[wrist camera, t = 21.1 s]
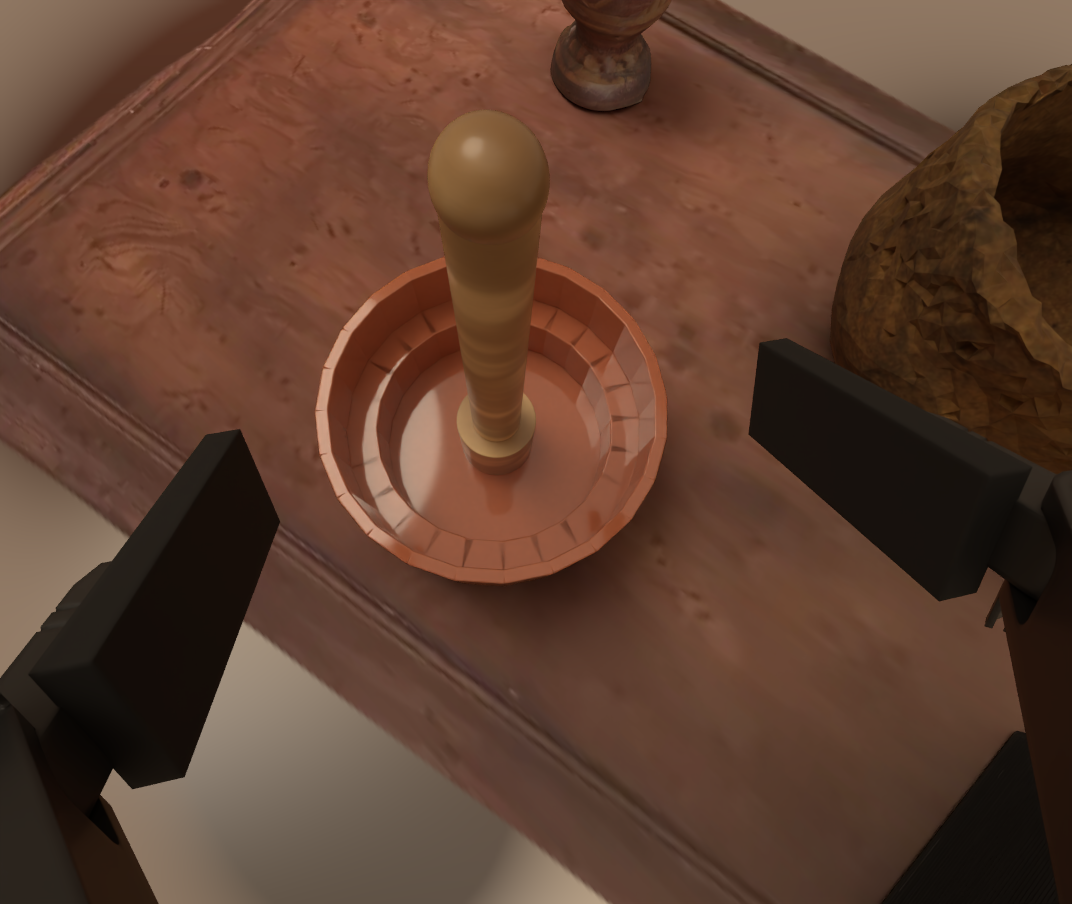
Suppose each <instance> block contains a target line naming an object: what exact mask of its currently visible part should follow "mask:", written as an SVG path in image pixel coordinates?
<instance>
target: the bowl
mask: <svg viewBox="0 0 1072 904" xmlns="http://www.w3.org/2000/svg"><path fill="white" fill-rule="evenodd" d="M830 343H831V348H832V353H833V357H834V361H835V364H837V365H839V366H841V367H843V368H844V369H846V370H848V371H850V372H852V373H854V374H856V375H858V376H860V377H862V378H864V379H866V380H867V381H869V382H871V383H873V384H875V385H877V386H879V387H881V388H883V389H885V390H887V391H888V392H890V393H892V394H894V395H896V396H898V397H900V398H902V399H904V400H906V401H908V402H909V403H911V404H913V405H915V406H917V407H919V408H921V409H923V410H925V411H927V412H930V413H934V414H937V415H940V416H943V417H946V418H948V419H950V420H952V421H954V422H956V423H958V424H960V425H962V426H964V427H965V428H967V429H968V431H969V432H970V431H973V432H975V433H977V434H979V435H981V436H983V437H985V438H987V441H993V442H995V443H996V444H998V445H1000V446H1002V447H1004V448H1006V449H1008V450H1010V451H1012V452H1014V453H1016V454H1018V455H1020V456H1022V457H1024V458H1026V459H1028V460H1029V461H1031V462H1033V463H1035V464H1037V465H1039V466H1041V467H1043V468H1045V469H1047V470H1049V471H1051V472H1053V473H1055V474H1059V473H1061V472H1062V471H1070V470H1072V64H1071V65H1069V66H1068V65H1065V66H1061V67H1057V68H1053V69H1050V70H1047V71H1046V72H1045V73H1043V74H1042V75H1040V76H1036V77H1033V78H1030V79H1027V80H1024V81H1022V82H1020V83H1018V84H1015V85H1013V86H1011V87H1009V88H1007V89H1006V90H1004V91H1002V92H1001V93H999V94H998V95H996V96H994V97H993V98H991V99H989V100H988V101H987V102H986V103H985V104H984V105H982V106H981V107H979V108H978V110H977V111H976V112H975V113H974V114H973V116H972V117H971V118H970V119H969V121H968V122H967V123H966V124H965V126H964V127H963V128H961V129H960V130H958V131H957V132H956V133H955V134H954V135H953V136H952V137H951V138H950V139H949V140H948V141H946V142H945V143H944V144H942V145H941V146H939V147H938V148H937V149H935V150H934V151H933V152H931V153H930V154H929V155H928V156H927V157H926V158H925V159H924V160H923V161H922V162H921V163H920V164H919V165H918V166H917V167H916V168H915V169H913V170H912V171H911V172H910V173H908V174H907V175H906V176H905V177H903V178H902V179H901V180H900V181H899V182H897V183H896V184H895V185H894V186H893V187H891V188H890V189H889V190H888V191H886V192H885V193H884V194H883V195H882V196H881V197H880V198H879V200H878V201H877V202H876V203H875V204H874V206H873V207H872V208H871V209H870V210H869V212H868V213H867V214H866V215H865V216H864V218H863V219H862V221H861V223H860V225H859V227H858V229H857V230H856V232H855V234H854V236H853V238H852V240H851V242H850V245H849V248H848V250H847V253H846V256H845V259H844V262H843V265H842V269H841V273H840V276H839V279H838V283H837V287H836V292H835V297H834V301H833V306H832V317H831V334H830Z"/></svg>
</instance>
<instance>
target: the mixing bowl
mask: <svg viewBox="0 0 1072 904" xmlns="http://www.w3.org/2000/svg"><path fill="white" fill-rule="evenodd" d="M523 393H524V394H525V395H526V396H527V397H528V398H529V400H530V401H531V403H532V405H533V407H534V410H535V414H536V427H535V432H534V437H533V442H532V447H531V451H530V454H529V456H528V458H527V460H526V461H525V462H524V464H523V465H522V466H520V467H519V468H518V469H517V470H515V471H513V472H511V473H508V474H504V475H490V474H486V473H483V472H481V471H479V470H478V469H476V468H475V467H473V466H472V465H471V464H470V462H469V461H468V460H467V458H466V456H465V454H464V451H463V447H462V444H461V440H460V436H459V432H458V428H457V412H458V409H459V406H460V404H461V402H462V401H463V399H464V398H465V397H466V395H467V394H468V392H467V386H466V380H465V374H464V368H463V362H462V356H461V350H460V344H459V338H458V332H457V326H456V321H455V315H454V309H453V303H452V297H451V291H450V285H449V279H448V273H447V267H446V261H445V257H442V258H440V259H437V260H435V261H432V262H429V263H427V264H424V265H421V266H419V267H416V268H414V269H411V270H408V271H406V272H404V273H403V274H401V275H400V276H398V277H397V278H395V279H394V280H392V281H391V282H390V283H388V284H387V285H385V286H384V287H382V288H381V289H379V290H378V291H377V292H375V293H374V294H372V295H371V297H369V298H368V299H367V300H366V301H365V302H364V304H363V305H362V306H361V307H360V308H359V309H358V310H357V312H356V313H355V314H354V315H353V316H352V317H351V318H350V320H349V321H348V322H347V323H346V324H345V325H344V327H343V328H342V329H341V331H340V333H339V335H338V337H337V339H336V341H335V343H334V345H333V347H332V349H331V352H330V354H329V356H328V358H327V360H326V362H325V364H324V366H323V369H322V374H321V379H320V385H319V390H318V396H317V401H316V407H315V420H316V429H317V439H318V449H319V455H320V459H321V461H322V464H323V466H324V469H325V471H326V473H327V476H328V478H329V481H330V483H331V486H332V488H333V490H334V493H335V495H336V497H337V498H338V501H339V502H340V503H341V504H342V506H343V507H344V508H345V509H346V511H347V512H348V513H349V514H350V516H351V517H352V518H353V519H354V521H355V522H356V523H357V524H358V526H359V527H360V528H361V529H362V531H363V532H364V533H365V534H366V535H368V537H369V538H370V539H372V540H373V541H375V542H376V543H378V544H379V545H380V546H382V547H383V548H385V549H386V550H388V551H389V552H390V553H392V554H393V555H395V556H396V557H397V558H399V559H400V560H402V561H403V562H405V563H406V564H408V565H411V566H414V567H416V568H419V569H422V570H425V571H428V572H431V573H434V574H436V575H439V576H442V577H445V578H448V579H451V580H454V581H457V582H460V583H464V584H475V585H490V586H508V585H513V584H518V583H523V582H528V581H533V580H538V579H542V578H545V577H547V576H550V575H552V574H554V573H556V572H558V571H560V570H562V569H564V568H566V567H568V566H570V565H572V564H574V563H576V562H578V561H580V560H582V559H584V558H586V557H588V556H590V555H592V554H594V553H595V552H597V551H598V550H599V549H600V548H601V547H603V546H604V545H605V544H606V543H607V542H608V541H609V540H610V539H611V538H612V537H613V536H615V535H616V534H617V533H618V532H619V531H620V530H621V529H622V528H623V527H624V526H625V525H626V524H628V523H629V522H630V521H631V519H632V518H633V517H634V515H635V513H636V512H637V510H638V508H639V507H640V505H641V503H642V502H643V500H644V499H645V497H646V495H647V494H648V492H649V490H650V489H651V487H652V486H653V484H654V482H655V480H656V476H657V473H658V469H659V465H660V462H661V458H662V455H663V451H664V448H665V444H666V441H667V440H666V439H667V395H666V391H665V387H664V384H663V380H662V377H661V373H660V369H659V366H658V362H657V358H656V356H655V354H654V352H653V350H652V348H651V347H650V345H649V343H648V342H647V340H646V338H645V337H644V335H643V333H642V331H641V330H640V328H639V326H638V325H637V323H636V321H635V320H634V319H633V318H632V317H631V315H630V314H629V313H628V312H627V311H626V310H625V309H624V308H623V307H622V306H621V305H620V304H619V303H618V302H617V301H616V300H615V299H614V298H613V297H612V296H611V295H610V294H609V293H608V292H607V291H605V290H604V289H603V288H601V287H600V286H598V285H597V284H595V283H593V282H592V281H590V280H588V279H587V278H585V277H584V276H582V275H580V274H579V273H577V272H575V271H574V270H572V269H569V268H568V267H565V266H562V265H559V264H556V263H553V262H550V261H547V260H544V259H541V258H537V267H536V277H535V286H534V296H533V305H532V315H531V324H530V334H529V343H528V353H527V362H526V372H525V381H524V391H523Z"/></svg>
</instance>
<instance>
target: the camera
mask: <svg viewBox="0 0 1072 904" xmlns="http://www.w3.org/2000/svg"><path fill="white" fill-rule="evenodd" d="M882 904H1059V899H1058V894H1057V889H1056V883H1055V878H1054V873H1053V868H1052V863H1051V858H1050V853H1049V848H1048V843H1047V838H1046V833H1045V828H1044V823H1043V818H1042V813H1041V808H1040V803H1039V798H1038V793H1037V788H1036V782H1035V777H1034V772H1033V767H1032V762H1031V757H1030V752H1029V747H1028V742H1027V737H1026V733H1024V732H1020V731H1016V732H1015V733H1014V734H1013V735H1012V736H1011V738H1010V739H1009V740H1008V742H1007V743H1006V744H1005V745H1004V747H1003V748H1002V749H1001V751H1000V752H999V753H998V755H997V756H996V757H995V758H994V760H993V761H992V762H991V764H990V765H989V766H988V767H987V769H986V770H985V771H984V773H983V774H982V775H981V776H980V778H979V779H978V780H977V782H976V783H975V784H974V785H973V787H972V788H971V789H970V791H969V792H968V793H967V795H966V796H965V797H964V798H963V800H962V801H961V802H960V804H959V805H958V806H957V808H956V809H955V810H954V812H953V813H952V814H951V816H950V817H949V818H948V819H947V821H946V822H945V823H944V825H943V826H942V827H941V828H940V830H939V831H938V832H937V834H936V835H935V836H934V838H933V839H932V840H931V841H930V843H929V844H928V845H927V847H926V848H925V849H924V850H923V852H922V853H921V854H920V856H919V857H918V858H917V859H916V861H915V862H914V863H913V865H912V866H911V867H910V868H909V870H908V871H907V872H906V874H905V875H904V876H903V878H902V879H901V880H900V881H899V883H898V884H897V885H896V887H895V888H894V889H893V890H892V892H891V893H890V894H889V896H888V897H887V898H886V899H885V901H884V902H883V903H882Z"/></svg>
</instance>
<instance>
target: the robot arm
mask: <svg viewBox="0 0 1072 904" xmlns="http://www.w3.org/2000/svg"><path fill="white" fill-rule="evenodd" d="M749 435H750V436H751V437H752V438H753V439H755V440H756V441H757V442H758V443H759V444H760V445H761V446H762V447H764V448H765V449H766V450H767V451H768V452H769V453H770V454H772V455H773V456H774V457H775V458H776V459H777V460H778V461H780V462H781V463H782V464H783V465H784V466H785V467H786V468H788V469H789V470H790V471H791V472H792V473H793V474H794V475H796V476H797V477H798V478H799V479H800V480H801V481H802V482H804V483H805V484H806V485H807V486H808V487H809V488H810V489H812V490H813V491H814V492H815V493H816V494H817V495H818V496H820V497H821V498H822V499H823V500H824V501H825V502H826V503H828V504H829V505H830V506H831V507H832V508H833V509H834V510H836V511H837V512H838V513H839V514H840V515H841V516H842V517H843V518H845V519H846V520H847V521H848V522H849V523H850V524H851V525H853V526H854V527H855V528H856V529H857V530H858V531H859V532H861V533H862V534H863V535H864V536H865V537H866V538H867V539H869V540H870V541H871V542H872V543H873V544H874V545H875V546H877V547H878V548H879V549H880V550H881V551H882V552H883V553H885V554H886V555H887V556H888V557H889V558H890V559H891V560H893V561H894V562H895V563H896V564H897V565H898V566H899V567H901V568H902V569H903V570H904V571H905V572H906V573H907V574H909V575H910V576H911V577H912V578H913V579H914V580H915V581H916V582H918V583H919V584H920V585H921V586H922V587H923V588H924V589H926V590H927V591H928V592H929V593H930V594H931V595H932V596H934V597H935V598H936V599H937V600H938V601H943V600H947V599H951V598H956V597H960V596H964V595H968V594H973V593H976V592H977V590H978V588H979V585H980V583H981V581H982V579H983V577H984V574H985V572H986V570H987V568H988V567H989V568H991V569H992V570H993V571H995V572H996V573H997V574H999V575H1000V576H1001V577H1003V578H1004V579H1005V580H1004V582H1003V584H1002V586H1001V588H1000V590H999V592H998V594H997V597H996V599H995V601H994V603H993V605H992V607H991V609H990V611H989V613H988V615H987V617H986V621H985V627H989V628H993V626H994V624H995V622H996V620H997V619H999V618H1001V617H1003V621H1004V626H1005V628H1004V629H1003V631H1004V632H1006V636H1007V641H1008V646H1009V651H1010V656H1011V661H1012V666H1013V671H1014V676H1015V681H1016V687H1017V692H1018V697H1019V702H1020V707H1021V712H1022V717H1023V722H1024V727H1025V732H1026V737H1027V742H1028V747H1029V752H1030V757H1031V762H1032V767H1033V772H1034V777H1035V782H1036V788H1037V793H1038V798H1039V803H1040V808H1041V813H1042V818H1043V823H1044V828H1045V833H1046V838H1047V843H1048V848H1049V853H1050V858H1051V863H1052V868H1053V873H1054V878H1055V883H1056V889H1057V894H1058V899H1059V904H1072V470H1070V471H1062V472H1061V473H1059V474H1055V473H1053V472H1051V471H1049V470H1047V469H1045V468H1043V467H1041V466H1039V465H1037V464H1035V463H1033V462H1031V461H1029V460H1028V459H1026V458H1024V457H1022V456H1020V455H1018V454H1016V453H1014V452H1012V451H1010V450H1008V449H1006V448H1004V447H1002V446H1000V445H998V444H996V443H995V442H993V441H987V438H985V437H983V436H981V435H979V434H977V433H975V432H973V431H970V432H969V431H968V429H967V428H965V427H964V426H962V425H960V424H958V423H956V422H954V421H952V420H950V419H948V418H946V417H943V416H940V415H937V414H934V413H930V412H927V411H925V410H923V409H921V408H919V407H917V406H915V405H913V404H911V403H909V402H908V401H906V400H904V399H902V398H900V397H898V396H896V395H894V394H892V393H890V392H888V391H887V390H885V389H883V388H881V387H879V386H877V385H875V384H873V383H871V382H869V381H867V380H866V379H864V378H862V377H860V376H858V375H856V374H854V373H852V372H850V371H848V370H846V369H844V368H843V367H841V366H839V365H837V364H835V363H833V362H831V361H829V360H827V359H825V358H823V357H822V356H820V355H818V354H816V353H814V352H812V351H810V350H808V349H806V348H804V347H802V346H801V345H799V344H797V343H795V342H793V341H791V340H789V339H787V338H785V339H779V340H773V341H767V342H761V343H760V344H759V352H758V361H757V369H756V377H755V385H754V394H753V402H752V410H751V418H750V427H749ZM279 523H280V520H279V518H278V515H277V513H276V511H275V509H274V506H273V504H272V502H271V499H270V497H269V495H268V492H267V490H266V488H265V486H264V483H263V481H262V479H261V476H260V474H259V472H258V469H257V467H256V465H255V462H254V460H253V458H252V456H251V453H250V451H249V449H248V446H247V444H246V442H245V439H244V437H243V435H242V433H241V430H240V429H238V430H232V431H226V432H220V433H214V434H207V435H205V437H204V438H203V439H202V441H201V442H200V443H199V445H198V446H197V447H196V449H195V450H194V452H193V453H192V454H191V456H190V457H189V458H188V460H187V461H186V462H185V464H184V465H183V466H182V468H181V469H180V470H179V472H178V473H177V474H176V476H175V477H174V478H173V480H172V481H171V482H170V484H169V485H168V486H167V488H166V489H165V491H164V492H163V493H162V495H161V496H160V497H159V499H158V500H157V501H156V503H155V504H154V505H153V507H152V508H151V509H150V511H149V512H148V513H147V515H146V516H145V517H144V519H143V520H142V521H141V523H140V524H139V525H138V527H137V528H136V530H135V531H134V532H133V534H132V535H131V536H130V538H129V539H128V540H127V542H126V543H125V544H124V546H123V547H122V548H121V550H120V551H119V552H118V554H117V555H116V557H115V558H114V559H113V560H112V561H110V562H105V563H101V564H100V565H98V566H97V567H96V568H95V569H93V570H92V571H91V572H89V573H88V574H87V575H86V576H84V577H83V578H82V579H81V580H79V581H78V582H77V583H76V584H75V585H73V587H72V588H71V589H70V590H69V592H68V593H67V594H66V596H65V597H64V598H63V599H62V601H61V602H60V603H59V604H58V606H57V607H56V612H53V613H51V615H50V616H49V617H48V618H47V620H46V621H45V622H44V623H43V625H42V626H41V631H40V632H36V633H35V635H34V636H33V637H32V639H31V640H30V641H29V643H28V644H27V645H26V646H25V647H24V649H23V650H22V651H21V653H20V654H19V655H18V656H17V657H16V659H15V660H14V662H13V663H12V664H11V665H10V666H9V668H8V669H7V670H6V671H5V673H4V674H3V675H2V677H1V678H0V904H158V902H157V900H156V898H155V896H154V893H153V891H152V889H151V887H150V885H149V883H148V881H147V879H146V877H145V875H144V873H143V871H142V869H141V867H140V865H139V863H138V860H137V859H136V856H135V854H134V852H133V850H132V848H131V846H130V844H129V842H128V840H127V838H126V836H125V834H124V832H123V830H122V828H121V825H120V823H119V821H118V819H117V817H116V815H115V813H114V811H113V809H112V807H111V806H110V804H108V802H107V801H106V800H105V799H104V798H103V797H102V796H101V795H100V794H101V792H102V789H103V787H104V785H105V783H106V781H107V779H108V777H109V775H110V773H111V771H112V769H114V770H115V771H116V772H117V773H118V774H119V775H120V776H121V777H122V778H123V780H124V781H125V782H126V783H127V784H128V785H129V786H130V787H131V788H132V789H135V788H139V787H144V786H148V785H153V784H157V783H161V782H165V781H170V780H174V779H178V778H183V777H185V774H186V772H187V769H188V766H189V764H190V761H191V758H192V755H193V753H194V750H195V748H196V745H197V742H198V740H199V737H200V734H201V732H202V729H203V726H204V724H205V721H206V718H207V716H208V713H209V710H210V708H211V705H212V702H213V700H214V697H215V694H216V691H217V689H218V686H219V684H220V681H221V678H222V676H223V673H224V670H225V667H226V665H227V662H228V659H229V657H230V654H231V651H232V649H233V646H234V643H235V641H236V638H237V635H238V633H239V630H240V627H241V625H242V622H243V619H244V617H245V614H246V611H247V609H248V606H249V603H250V601H251V598H252V595H253V593H254V590H255V587H256V585H257V582H258V579H259V577H260V574H261V571H262V568H263V566H264V563H265V560H266V558H267V555H268V552H269V550H270V547H271V544H272V542H273V539H274V536H275V534H276V531H277V528H278V526H279Z"/></svg>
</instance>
